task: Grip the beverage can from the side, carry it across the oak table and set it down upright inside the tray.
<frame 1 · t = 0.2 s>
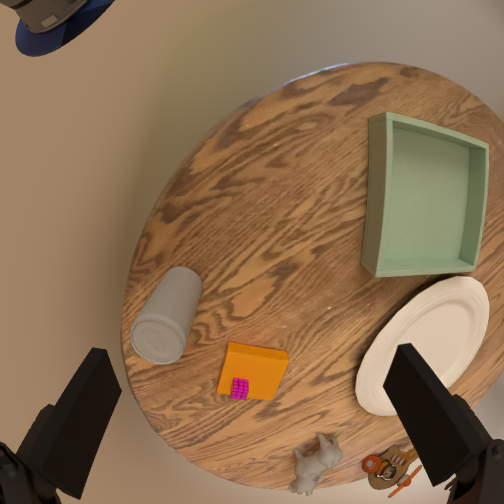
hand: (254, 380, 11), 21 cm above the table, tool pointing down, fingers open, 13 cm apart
plate: (427, 350, 37), on the table
tray: (424, 197, 29), on the table
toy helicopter: (393, 445, 47), on the table
beverage can: (183, 282, 32), on the table
grey stone animal figure: (310, 446, 43), on the table
orange square platform: (250, 367, 36), on the table
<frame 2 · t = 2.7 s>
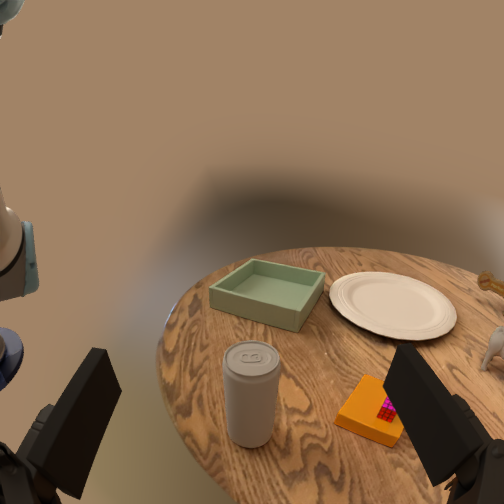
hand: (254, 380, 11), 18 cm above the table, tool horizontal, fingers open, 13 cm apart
plate: (393, 307, 51), on the table
tray: (270, 299, 55), on the table
beverage can: (249, 434, 25), on the table
grey stone animal figure: (502, 374, 26), on the table
orange square platform: (375, 415, 26), on the table
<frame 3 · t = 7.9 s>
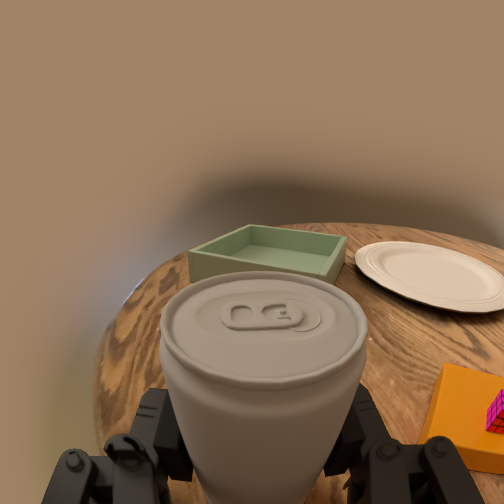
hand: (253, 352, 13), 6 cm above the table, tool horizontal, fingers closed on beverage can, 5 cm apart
plate: (435, 279, 36), on the table
tray: (276, 271, 40), on the table
beverage can: (255, 498, 10), on the table, touching gripper
orange square platform: (468, 428, 11), on the table
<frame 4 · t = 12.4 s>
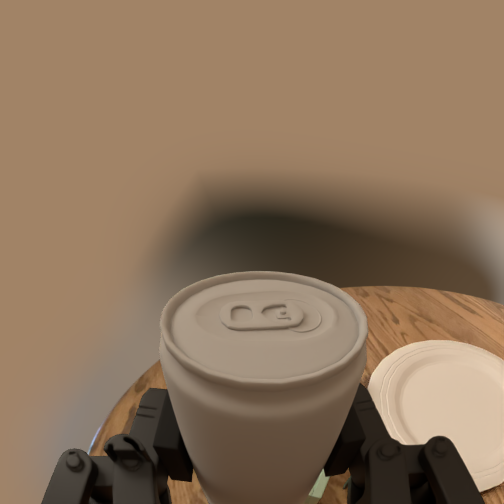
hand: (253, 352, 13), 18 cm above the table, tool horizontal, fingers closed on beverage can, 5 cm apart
plate: (458, 410, 23), on the table
tray: (262, 424, 26), on the table
beverage can: (255, 498, 10), point 11 cm above the table, touching gripper
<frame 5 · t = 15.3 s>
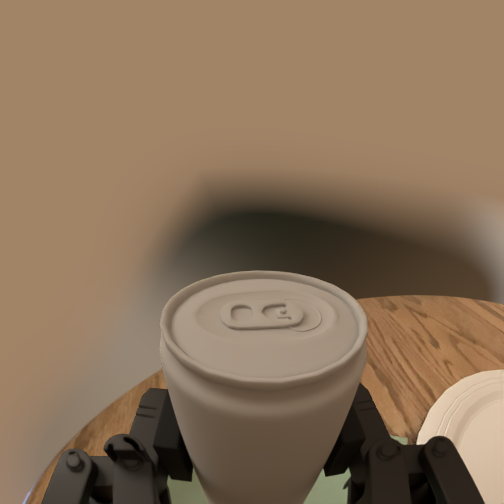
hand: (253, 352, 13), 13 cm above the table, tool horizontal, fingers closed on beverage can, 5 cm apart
beverage can: (255, 498, 10), point 7 cm above the table, touching gripper
when the fingers open (7 cm above the table, at t = 17.3 s): beverage can stays where it is, resting on tray.
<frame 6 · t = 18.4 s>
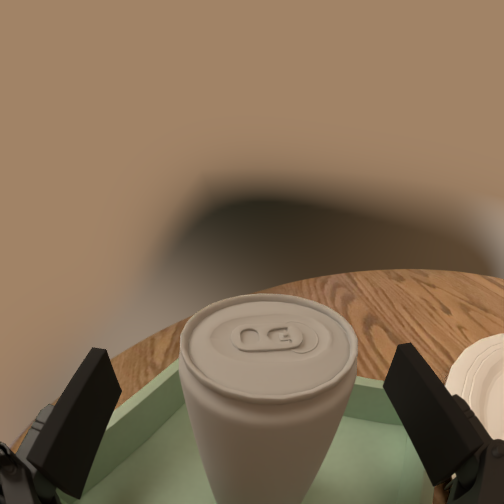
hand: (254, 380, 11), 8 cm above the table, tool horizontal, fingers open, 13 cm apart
tray: (257, 498, 11), on the table
beverage can: (258, 495, 11), point 1 cm above the table, touching tray
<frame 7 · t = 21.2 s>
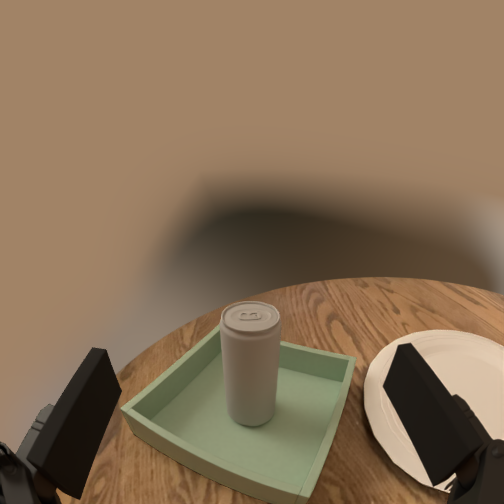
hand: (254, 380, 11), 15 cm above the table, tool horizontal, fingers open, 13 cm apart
plate: (464, 402, 21), on the table
tray: (250, 416, 25), on the table
beverage can: (250, 412, 24), point 1 cm above the table, touching tray
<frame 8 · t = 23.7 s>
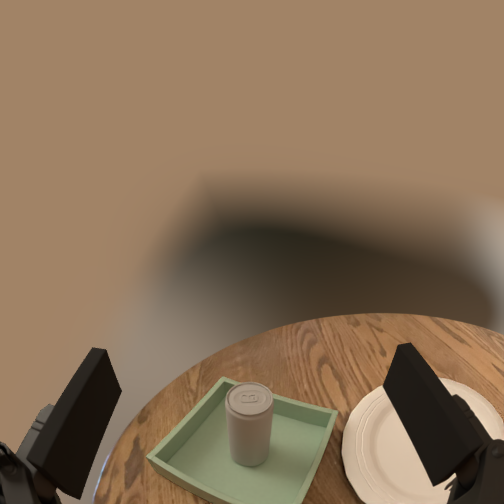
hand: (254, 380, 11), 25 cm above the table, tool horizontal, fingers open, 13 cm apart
plate: (431, 446, 24), on the table
tray: (249, 455, 28), on the table
beverage can: (249, 454, 28), point 1 cm above the table, touching tray
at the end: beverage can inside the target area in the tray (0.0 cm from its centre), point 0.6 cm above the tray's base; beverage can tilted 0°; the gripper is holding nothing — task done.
